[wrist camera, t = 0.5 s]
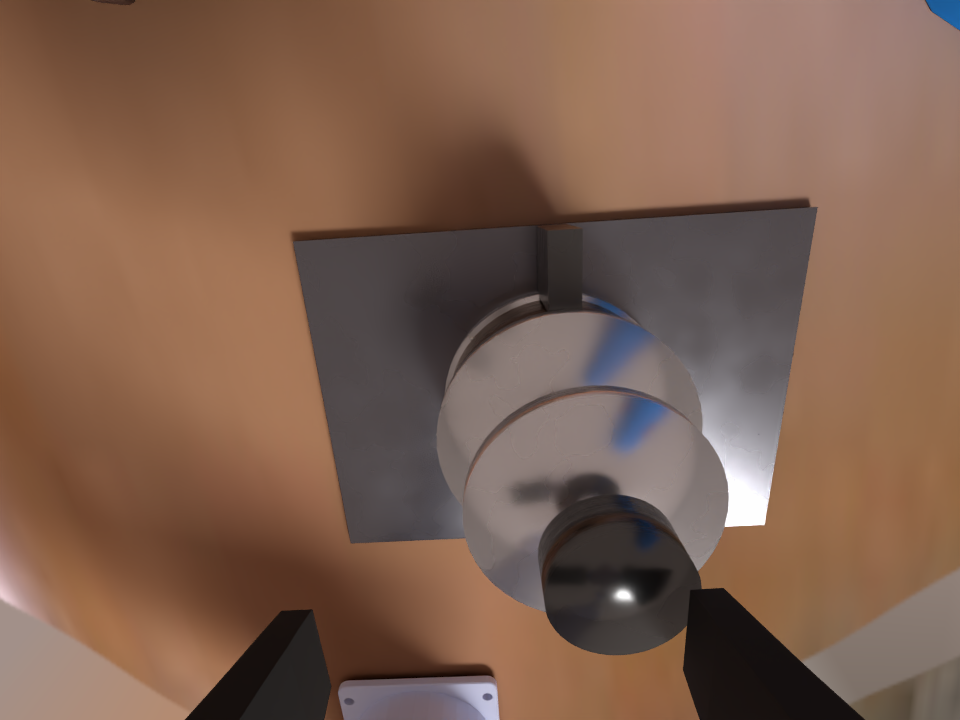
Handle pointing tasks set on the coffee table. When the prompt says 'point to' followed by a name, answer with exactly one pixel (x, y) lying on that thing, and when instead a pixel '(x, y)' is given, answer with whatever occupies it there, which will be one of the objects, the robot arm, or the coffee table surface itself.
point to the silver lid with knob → (597, 514)
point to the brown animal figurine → (116, 1)
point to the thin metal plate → (547, 345)
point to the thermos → (946, 10)
